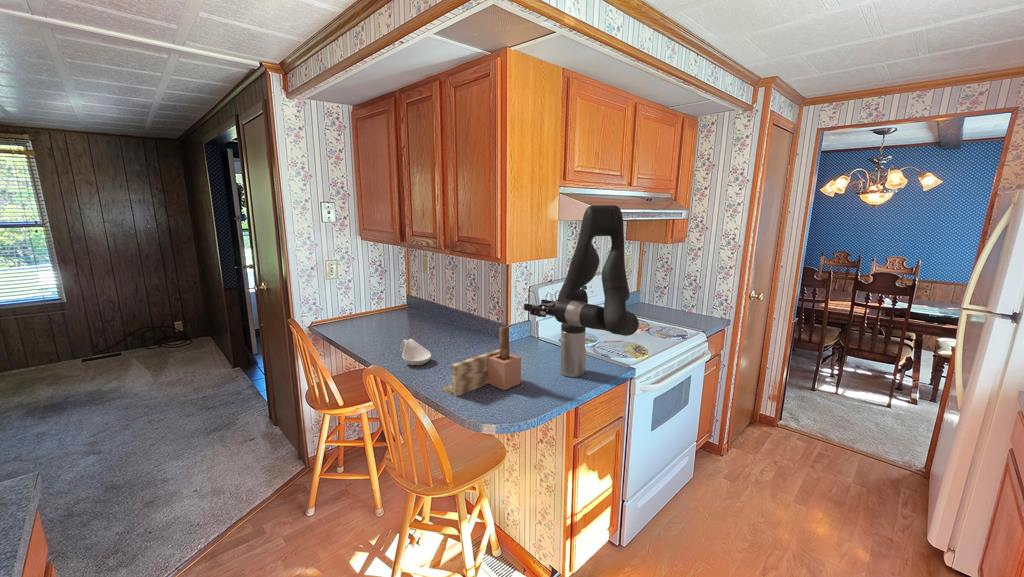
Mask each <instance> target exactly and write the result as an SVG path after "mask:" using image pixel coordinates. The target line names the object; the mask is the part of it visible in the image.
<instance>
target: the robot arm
mask: <svg viewBox="0 0 1024 577" xmlns="http://www.w3.org/2000/svg"><path fill="white" fill-rule="evenodd" d="M624 226H625V225H624V218H623V213H622V211H621V208H620V207H619V206H618V205H616V204H615V205H614V204H613V205H612V204H599V205H598V204H595V205H589V206H587V207H586V209H585V211H584V213H583V217H582V221H581V225H580V230H579V235H578V238H577V242H576V245H575V249H574V252H573V255H572V257H571V261H570V263H569V268H568V270H567V274H566V277H565V279H564V282H563V284H562V286H561V288H560V291H559V294H558V295H557V299H556V300H554V299H552V300H549V299H544V298H543V299H541V300H540V303H539V304H530V303H524V304H523V310H524V311H526V312H529V315H531V316H535V317H541V318H546V317H547V316H548V317H554V318H555V319H556V321H557V322H559V323H561V325H560V326H561V327H560V328H561V329H560V330H561V331H560V365H559V366H560V371H559V372H560V374H561V375H562V376H564V377H569V378H578V377H582V376H583V375H584V374H585V372H586V362H587V361H586V360H587V359H586V358H587V356H586V354H587V349H586V328H588V329H593V330H600V331H606V332H609V333H611V334H613V335H616V336H617V335H618V336H624V337H626V336H627V337H628V336H629V337H630V336H632V335H634V334H635V333H637V331H638V329H639V326H640V323H639V322H640V320H639V319H638V317H637V315H636V314H634V313H633V312H631V311H630V310H629V311H628V310H627V309H626V307H627V305H626V304H627V301H628V300H629V299H630V288H629V282H628V277H627V272H626V261H625V230H624ZM595 237H610V240H611V241H610V242H611V246H610V250H609V253H608V255H607V258H606V260H605V262H604V265H603V267H602V271H601V284H602V289H603V290H602V291H603V295H604V302H603V306H601V305H597V304H591V303H589V296H588V292H587V291H586V289H584V288H583V287H584V286H586V285H587V284H589V283H590V282H592V280H593V279H594V277H595V276H596V274H597V271H598V269H599V265H600V255H599V254H598V252H597V250H596V248H595V247H594V244H593V239H594V238H595Z"/></svg>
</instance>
